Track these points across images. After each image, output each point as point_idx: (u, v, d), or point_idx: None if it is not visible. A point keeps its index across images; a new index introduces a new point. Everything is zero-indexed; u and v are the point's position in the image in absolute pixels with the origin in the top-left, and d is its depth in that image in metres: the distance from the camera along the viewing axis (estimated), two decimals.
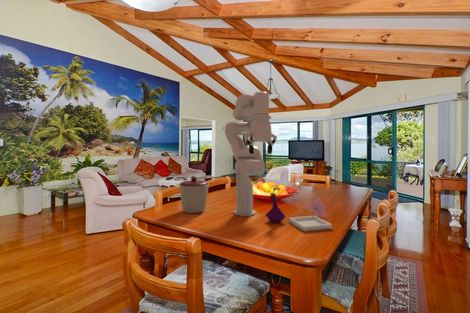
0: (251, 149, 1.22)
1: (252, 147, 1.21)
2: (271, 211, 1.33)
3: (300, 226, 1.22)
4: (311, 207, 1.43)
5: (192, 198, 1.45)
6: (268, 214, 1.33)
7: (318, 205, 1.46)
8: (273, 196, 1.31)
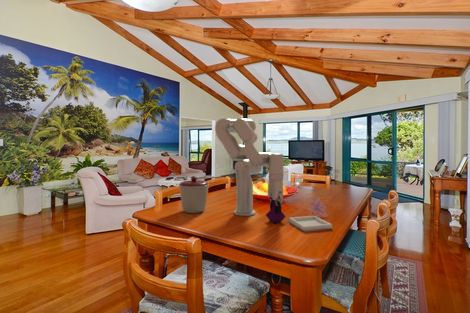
0: (279, 209, 1.30)
1: None
2: (271, 211, 1.33)
3: (300, 226, 1.22)
4: (312, 207, 1.42)
5: (192, 198, 1.45)
6: (268, 214, 1.33)
7: (318, 205, 1.46)
8: None
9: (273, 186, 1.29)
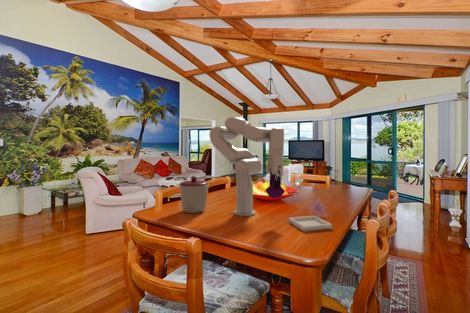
0: None
1: (280, 182, 1.30)
2: (271, 186, 1.32)
3: (300, 226, 1.22)
4: (312, 207, 1.42)
5: (192, 198, 1.45)
6: (267, 189, 1.33)
7: (318, 205, 1.45)
8: None
9: (273, 160, 1.29)
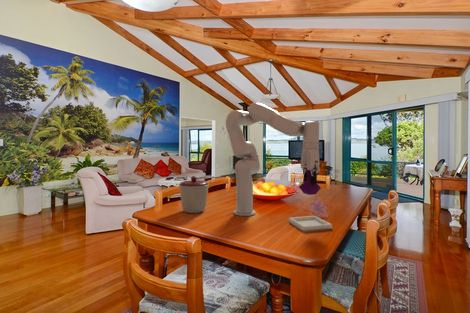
0: None
1: (316, 177, 1.24)
2: (305, 182, 1.26)
3: (300, 226, 1.22)
4: (312, 207, 1.42)
5: (192, 198, 1.45)
6: (302, 186, 1.26)
7: (319, 205, 1.45)
8: None
9: (309, 155, 1.22)
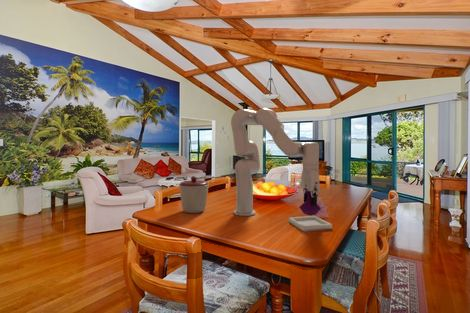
0: None
1: (316, 198, 1.24)
2: (306, 203, 1.26)
3: (300, 226, 1.22)
4: None
5: (192, 198, 1.45)
6: (302, 206, 1.27)
7: (319, 206, 1.45)
8: None
9: (309, 177, 1.23)
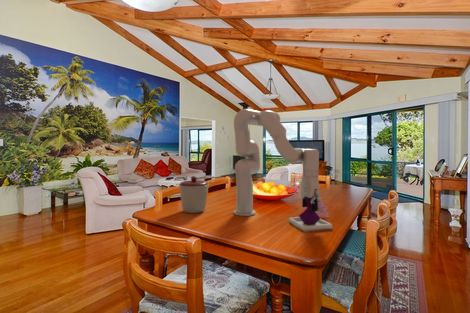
0: None
1: (317, 204, 1.23)
2: (305, 212, 1.27)
3: (300, 226, 1.22)
4: None
5: (192, 198, 1.45)
6: (302, 215, 1.27)
7: (320, 206, 1.45)
8: None
9: (308, 183, 1.23)
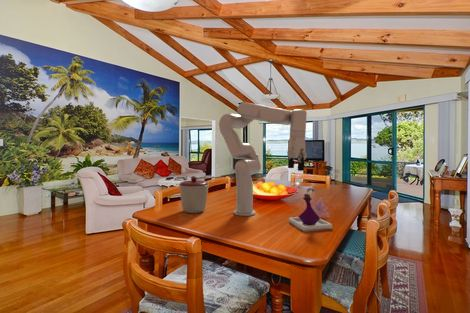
0: None
1: None
2: (305, 213, 1.27)
3: (300, 226, 1.22)
4: (314, 207, 1.42)
5: (192, 198, 1.45)
6: (302, 216, 1.27)
7: (320, 206, 1.45)
8: (307, 197, 1.25)
9: (295, 143, 1.23)
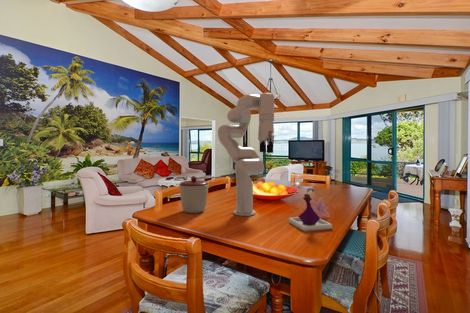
0: (271, 148, 1.24)
1: None
2: (305, 213, 1.27)
3: (300, 226, 1.22)
4: (314, 207, 1.42)
5: (192, 198, 1.45)
6: (302, 216, 1.27)
7: (320, 206, 1.45)
8: (307, 197, 1.25)
9: (263, 126, 1.25)
